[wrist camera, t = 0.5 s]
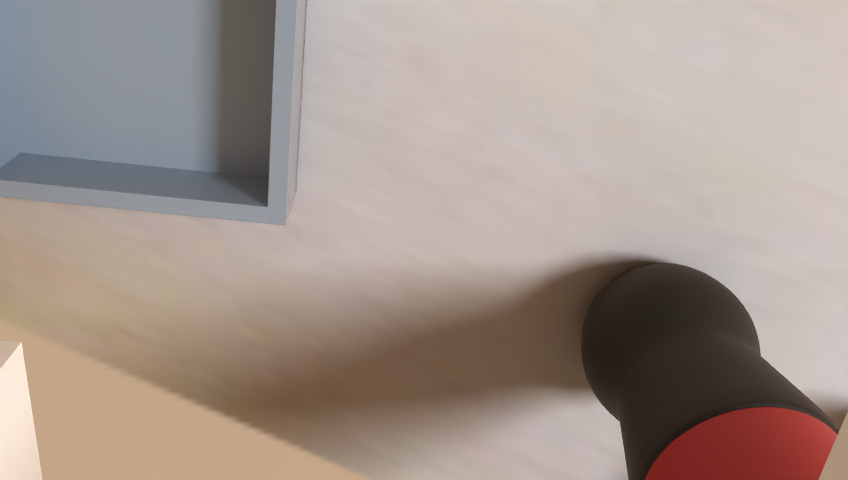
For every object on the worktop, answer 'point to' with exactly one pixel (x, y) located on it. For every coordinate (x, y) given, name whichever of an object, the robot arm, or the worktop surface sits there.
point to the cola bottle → (696, 383)
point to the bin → (153, 105)
